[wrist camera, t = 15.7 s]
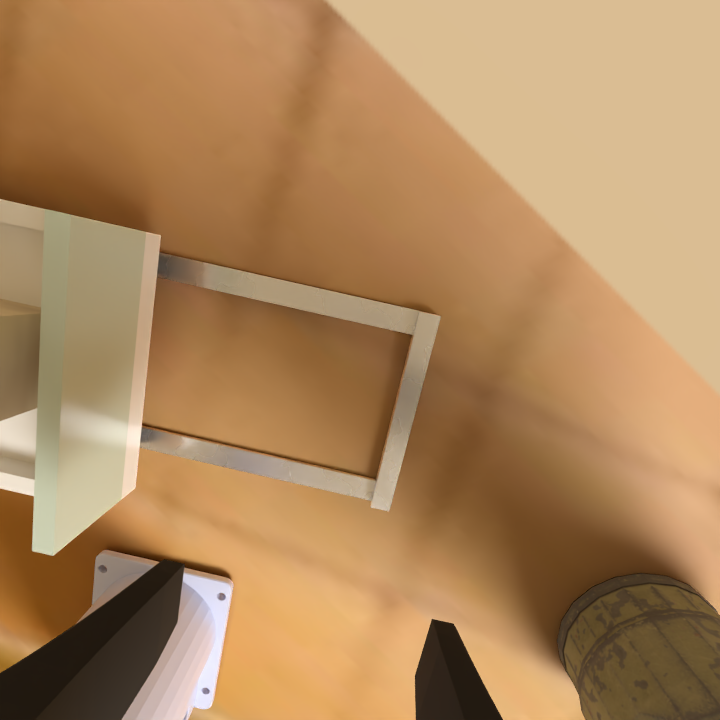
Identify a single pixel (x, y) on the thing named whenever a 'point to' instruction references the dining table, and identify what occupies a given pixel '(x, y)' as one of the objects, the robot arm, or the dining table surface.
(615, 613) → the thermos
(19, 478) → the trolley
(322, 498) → the dining table surface
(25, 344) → the block
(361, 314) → the track
